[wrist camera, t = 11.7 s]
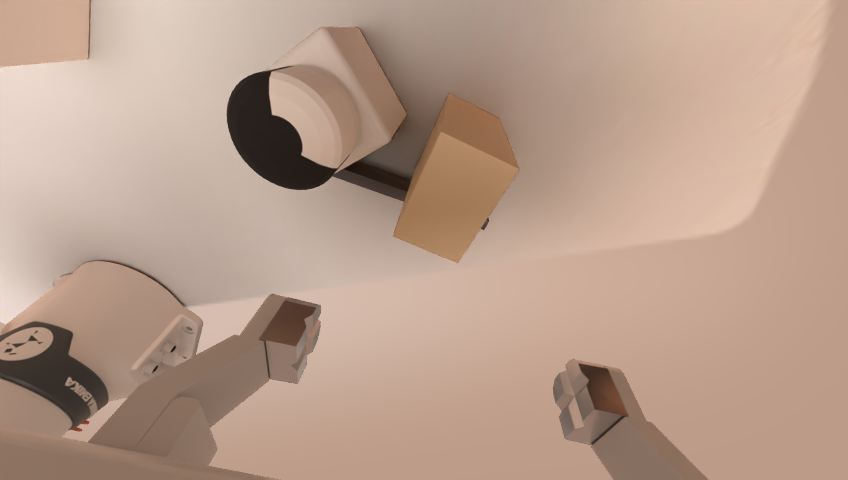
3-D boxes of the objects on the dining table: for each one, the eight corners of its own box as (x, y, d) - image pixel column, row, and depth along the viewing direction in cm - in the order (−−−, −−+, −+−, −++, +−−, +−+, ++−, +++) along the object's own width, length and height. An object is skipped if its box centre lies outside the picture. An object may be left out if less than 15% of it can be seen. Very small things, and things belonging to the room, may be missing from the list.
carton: (501, 119, 25) (522, 170, 16) (461, 190, 29) (460, 264, 20) (448, 93, 25) (441, 131, 16) (414, 169, 29) (392, 236, 20)
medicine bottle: (341, 154, 29) (277, 223, 19) (287, 77, 25) (175, 110, 15) (408, 115, 26) (375, 170, 16) (358, 24, 23) (278, 23, 13)
